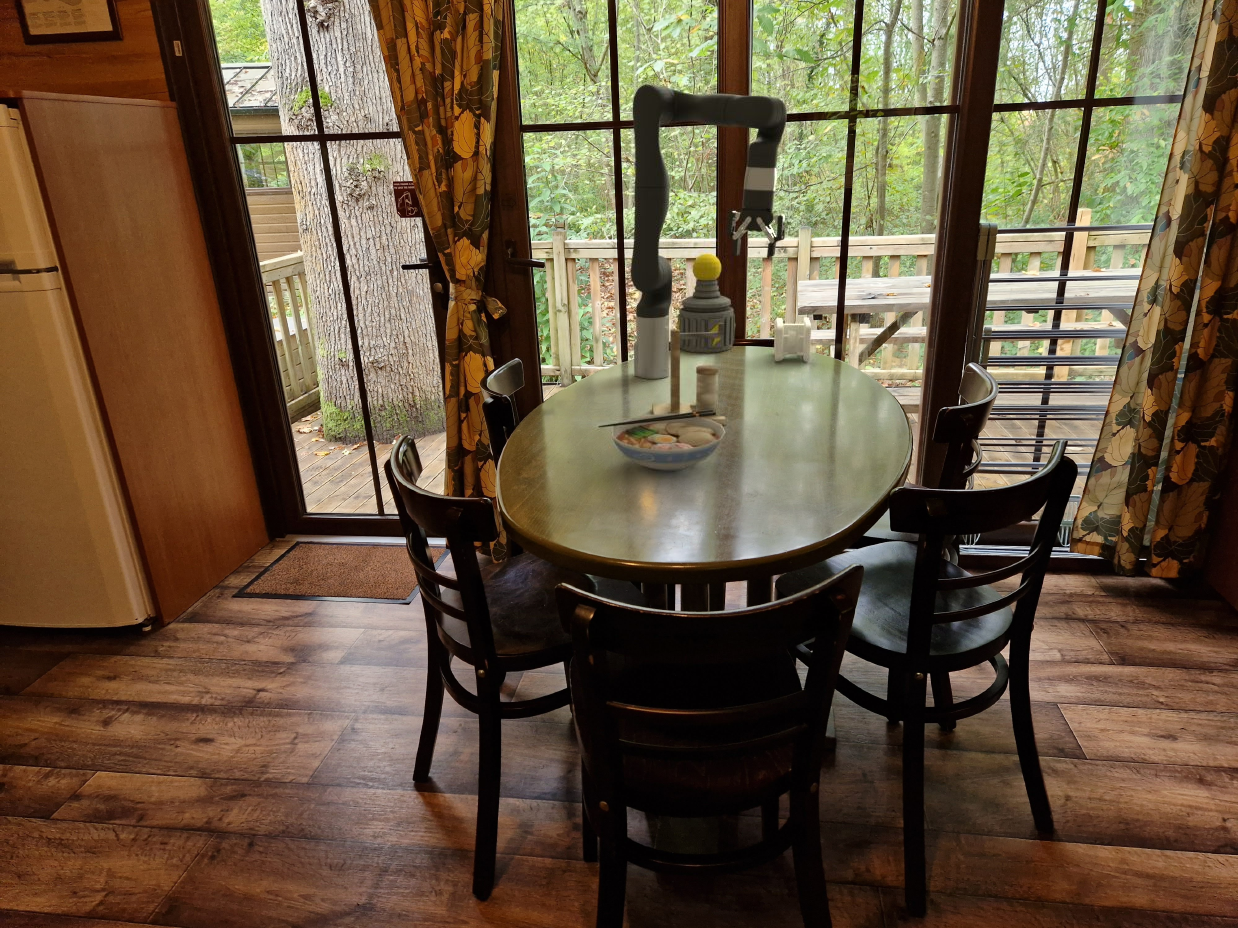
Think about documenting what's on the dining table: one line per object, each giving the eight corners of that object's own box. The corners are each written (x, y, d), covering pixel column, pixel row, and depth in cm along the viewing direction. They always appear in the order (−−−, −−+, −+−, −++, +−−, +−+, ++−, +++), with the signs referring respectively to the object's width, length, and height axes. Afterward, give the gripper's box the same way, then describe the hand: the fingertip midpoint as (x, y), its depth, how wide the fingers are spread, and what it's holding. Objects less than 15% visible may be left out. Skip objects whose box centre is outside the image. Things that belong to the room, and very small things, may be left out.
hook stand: (716, 407, 194) (718, 318, 186) (725, 425, 181) (728, 329, 173) (652, 410, 194) (651, 320, 186) (656, 427, 181) (655, 331, 173)
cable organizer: (809, 364, 233) (812, 325, 229) (773, 364, 235) (775, 325, 231) (806, 353, 247) (809, 316, 243) (772, 352, 249) (774, 316, 245)
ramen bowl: (623, 494, 145) (622, 452, 142) (593, 453, 165) (592, 416, 162) (748, 477, 151) (750, 437, 148) (705, 440, 171) (705, 404, 168)
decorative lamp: (721, 339, 269) (723, 249, 259) (743, 351, 252) (746, 254, 242) (669, 343, 265) (669, 252, 254) (688, 355, 248) (688, 258, 237)
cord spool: (692, 418, 187) (692, 369, 182) (700, 412, 191) (701, 364, 187) (712, 421, 184) (713, 371, 180) (720, 415, 188) (721, 366, 184)
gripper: (726, 186, 189) (720, 255, 195) (783, 190, 183) (775, 261, 189) (737, 185, 195) (731, 252, 201) (792, 189, 189) (785, 258, 195)
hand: (753, 256), depth 195 cm, fingers open, 8 cm apart
